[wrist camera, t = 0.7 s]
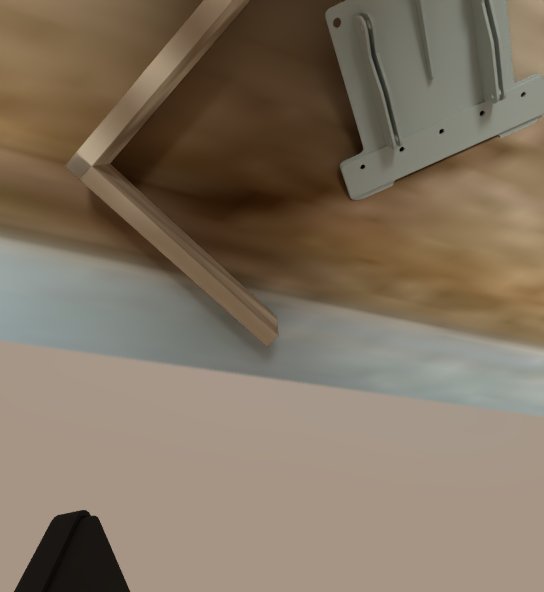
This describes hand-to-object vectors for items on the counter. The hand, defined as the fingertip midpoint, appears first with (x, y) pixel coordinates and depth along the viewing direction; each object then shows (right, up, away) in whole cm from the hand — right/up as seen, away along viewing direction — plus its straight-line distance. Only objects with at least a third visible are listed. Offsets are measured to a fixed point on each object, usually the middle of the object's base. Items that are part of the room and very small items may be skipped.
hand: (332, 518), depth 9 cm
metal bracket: (+9, +20, +23) cm, 32 cm away
